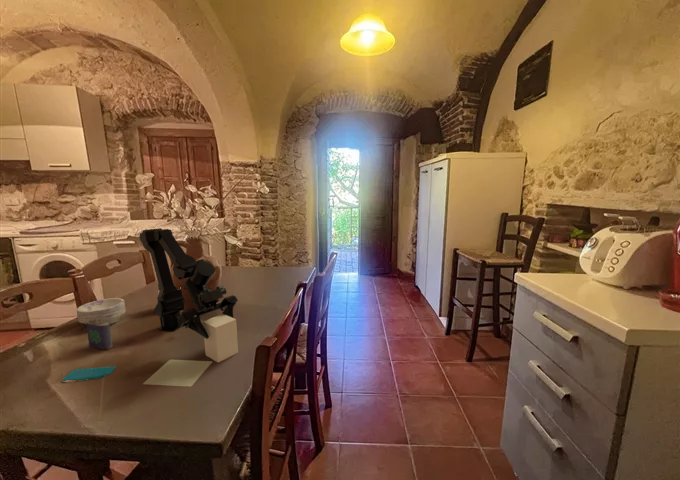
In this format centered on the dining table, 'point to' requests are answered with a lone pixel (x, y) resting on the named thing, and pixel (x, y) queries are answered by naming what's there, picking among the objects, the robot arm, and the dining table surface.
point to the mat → (178, 373)
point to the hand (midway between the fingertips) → (221, 332)
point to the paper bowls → (102, 310)
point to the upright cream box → (221, 337)
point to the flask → (99, 334)
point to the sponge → (89, 373)
